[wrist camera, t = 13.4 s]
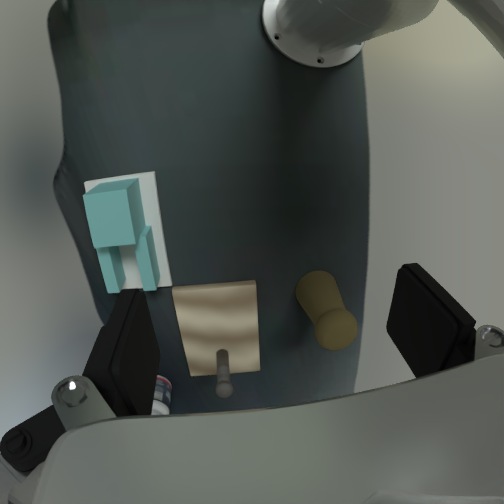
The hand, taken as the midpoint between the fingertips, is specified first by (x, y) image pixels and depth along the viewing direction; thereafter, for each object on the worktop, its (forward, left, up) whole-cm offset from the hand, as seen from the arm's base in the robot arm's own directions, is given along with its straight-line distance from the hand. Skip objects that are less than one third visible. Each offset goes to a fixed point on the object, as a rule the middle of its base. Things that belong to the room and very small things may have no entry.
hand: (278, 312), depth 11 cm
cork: (+18, +10, -28) cm, 35 cm away
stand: (+23, -4, -28) cm, 37 cm away
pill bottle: (+34, -16, -28) cm, 47 cm away
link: (+7, -14, -28) cm, 32 cm away
